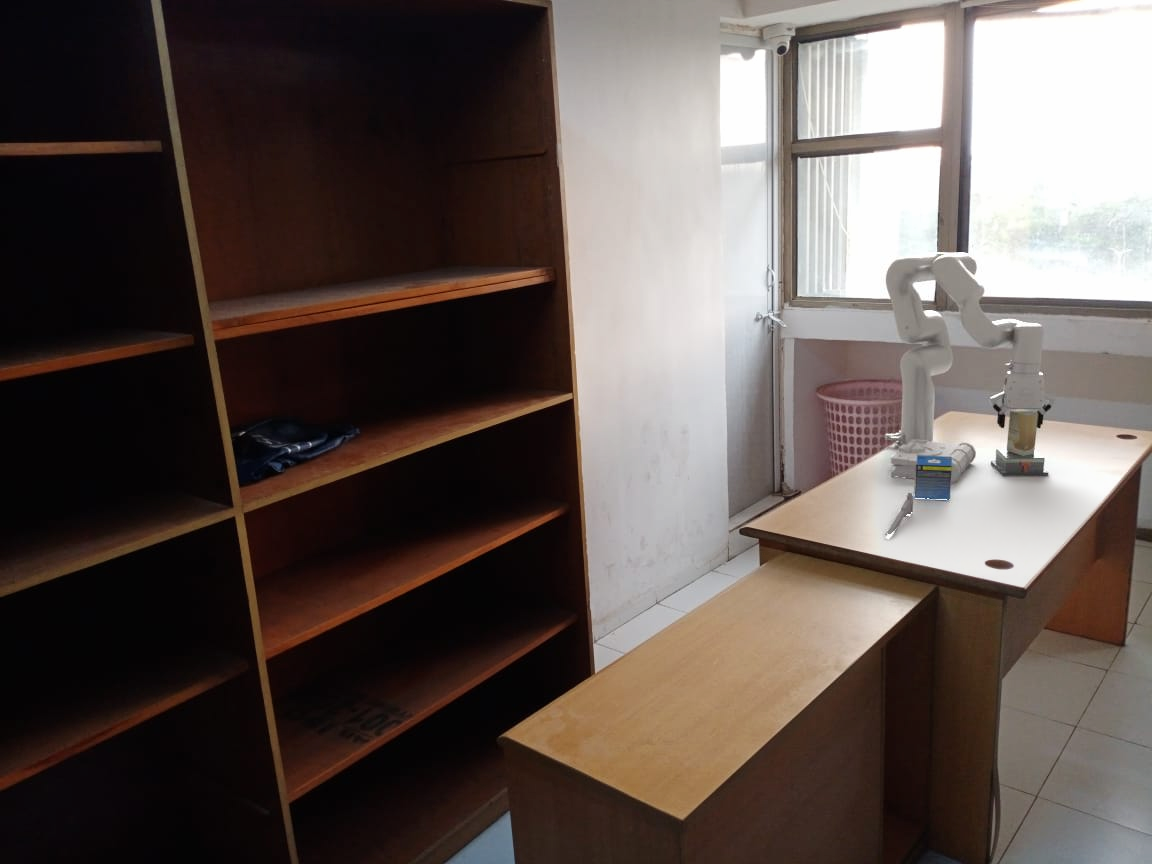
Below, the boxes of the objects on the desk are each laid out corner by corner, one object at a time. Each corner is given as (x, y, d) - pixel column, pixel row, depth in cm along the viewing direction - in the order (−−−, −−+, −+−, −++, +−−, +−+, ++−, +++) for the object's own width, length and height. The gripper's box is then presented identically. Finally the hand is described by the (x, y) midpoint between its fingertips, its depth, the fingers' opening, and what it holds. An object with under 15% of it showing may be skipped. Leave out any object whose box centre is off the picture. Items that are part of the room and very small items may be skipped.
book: (979, 460, 278) (980, 435, 276) (957, 486, 255) (958, 459, 254) (913, 454, 288) (913, 430, 287) (886, 478, 266) (887, 453, 264)
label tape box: (949, 496, 247) (951, 452, 243) (950, 501, 243) (952, 456, 240) (914, 495, 249) (915, 451, 246) (914, 500, 245) (916, 455, 242)
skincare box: (1005, 451, 266) (1008, 410, 263) (1017, 449, 268) (1020, 408, 265) (1024, 456, 261) (1027, 414, 257) (1035, 454, 262) (1038, 412, 259)
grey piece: (1002, 476, 261) (1003, 459, 259) (990, 463, 272) (991, 447, 271) (1048, 475, 259) (1049, 458, 257) (1034, 463, 270) (1035, 447, 269)
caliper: (908, 514, 236) (909, 490, 235) (912, 514, 235) (913, 491, 234) (884, 540, 220) (885, 515, 218) (889, 541, 219) (889, 516, 218)
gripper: (996, 370, 256) (990, 430, 261) (1063, 370, 253) (1056, 430, 258) (988, 365, 263) (983, 423, 268) (1053, 364, 260) (1047, 423, 265)
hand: (1019, 426), depth 263 cm, fingers open, 9 cm apart
